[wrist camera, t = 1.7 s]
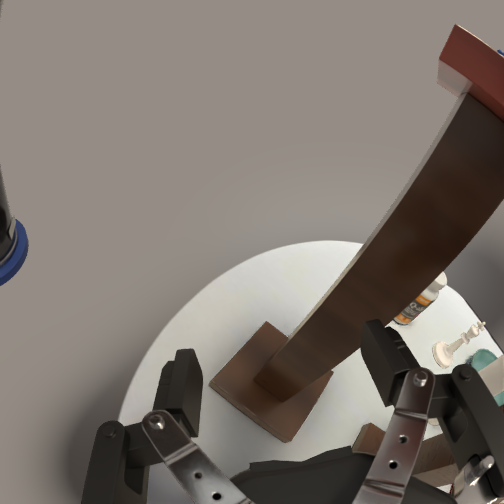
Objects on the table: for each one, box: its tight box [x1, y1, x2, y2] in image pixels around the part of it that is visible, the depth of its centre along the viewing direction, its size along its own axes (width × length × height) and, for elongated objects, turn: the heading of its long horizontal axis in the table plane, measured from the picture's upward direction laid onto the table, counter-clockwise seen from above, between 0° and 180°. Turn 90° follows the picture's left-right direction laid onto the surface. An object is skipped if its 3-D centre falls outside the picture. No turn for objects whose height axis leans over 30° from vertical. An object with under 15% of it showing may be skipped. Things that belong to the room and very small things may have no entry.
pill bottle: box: [394, 272, 447, 324], centre depth 40 cm, size 6×6×10 cm
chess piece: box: [433, 321, 485, 368], centre depth 36 cm, size 5×5×10 cm
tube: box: [428, 354, 504, 425], centre depth 27 cm, size 4×4×15 cm
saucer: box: [471, 349, 504, 406], centre depth 36 cm, size 15×15×3 cm
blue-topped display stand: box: [352, 404, 504, 487], centre depth 17 cm, size 12×10×22 cm
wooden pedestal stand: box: [209, 24, 504, 443], centre depth 19 cm, size 12×10×32 cm
